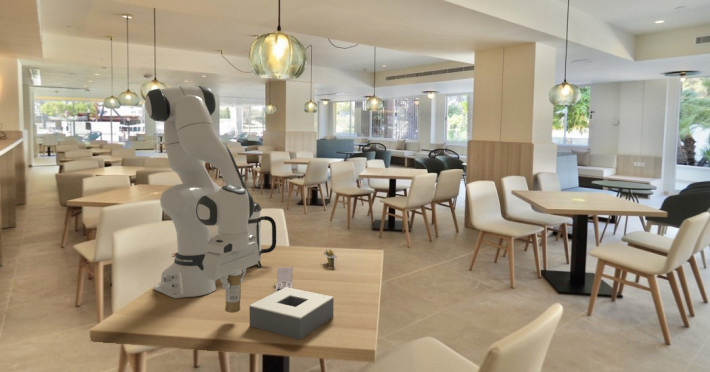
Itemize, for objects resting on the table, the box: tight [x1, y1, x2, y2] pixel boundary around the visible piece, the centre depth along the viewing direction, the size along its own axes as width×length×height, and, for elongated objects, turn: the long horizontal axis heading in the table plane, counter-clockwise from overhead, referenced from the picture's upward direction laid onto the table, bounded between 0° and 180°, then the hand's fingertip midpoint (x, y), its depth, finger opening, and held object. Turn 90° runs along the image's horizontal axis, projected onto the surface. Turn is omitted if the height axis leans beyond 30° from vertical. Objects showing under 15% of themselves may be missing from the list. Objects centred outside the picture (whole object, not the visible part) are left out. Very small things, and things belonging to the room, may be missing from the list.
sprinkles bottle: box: [224, 268, 242, 314], centre depth 134 cm, size 5×5×14 cm
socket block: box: [248, 287, 335, 340], centre depth 135 cm, size 18×18×6 cm
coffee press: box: [248, 201, 277, 269], centre depth 191 cm, size 17×16×30 cm
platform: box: [322, 248, 338, 267], centre depth 195 cm, size 12×18×7 cm, turn 19°
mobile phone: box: [274, 266, 294, 293], centre depth 160 cm, size 6×6×25 cm
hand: (232, 285), depth 134 cm, fingers closed on sprinkles bottle, 4 cm apart
